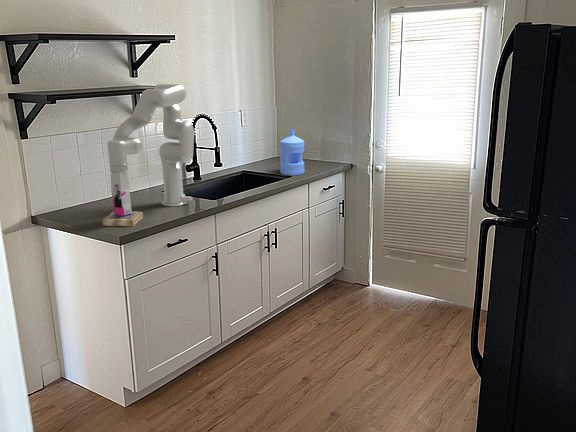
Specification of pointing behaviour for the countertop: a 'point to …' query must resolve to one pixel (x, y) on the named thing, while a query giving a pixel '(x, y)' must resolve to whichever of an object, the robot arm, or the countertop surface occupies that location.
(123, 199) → the supplement box
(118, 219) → the square wooden tray
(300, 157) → the water jug
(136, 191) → the countertop surface
